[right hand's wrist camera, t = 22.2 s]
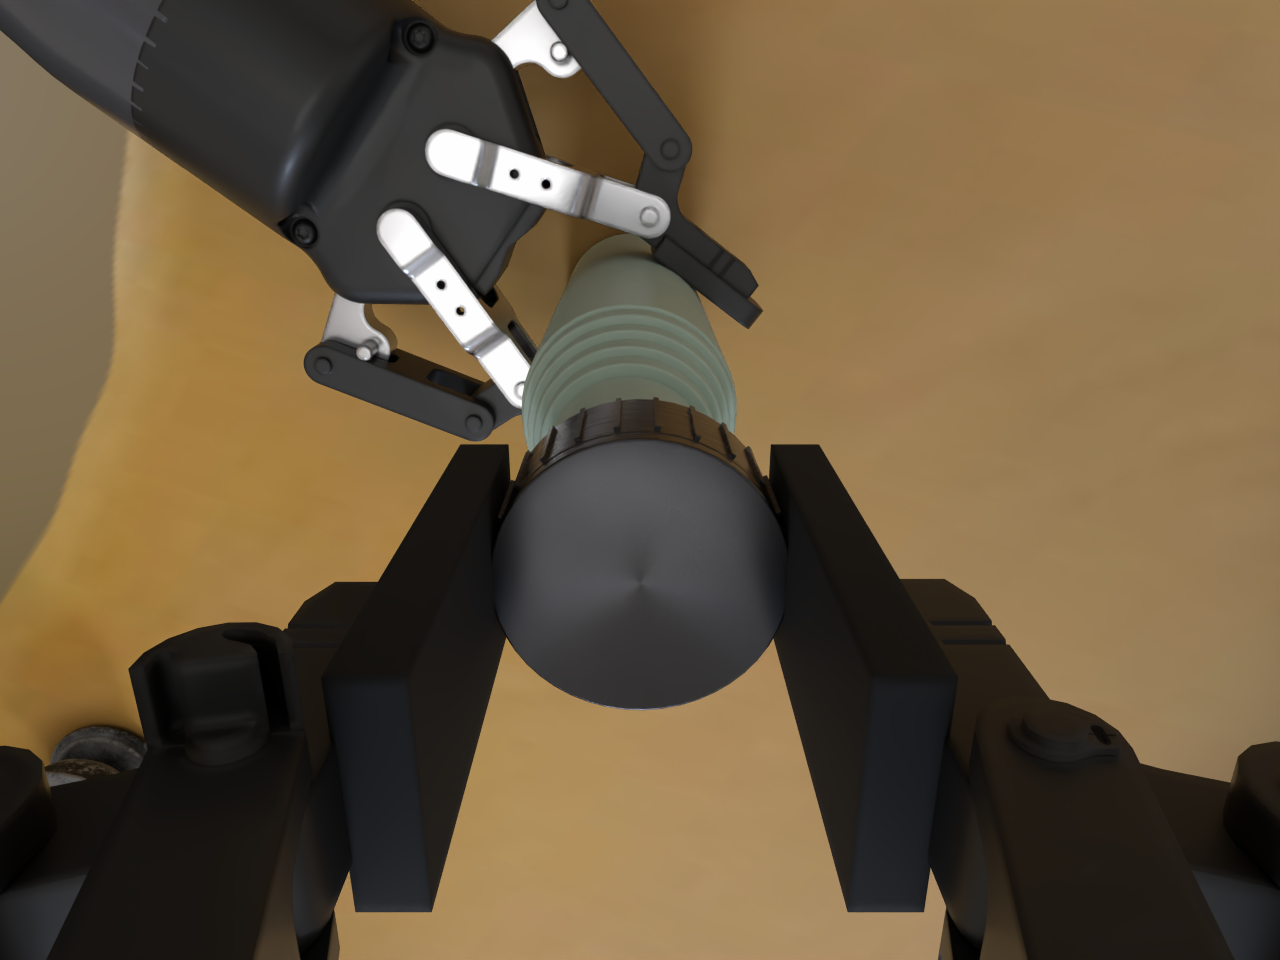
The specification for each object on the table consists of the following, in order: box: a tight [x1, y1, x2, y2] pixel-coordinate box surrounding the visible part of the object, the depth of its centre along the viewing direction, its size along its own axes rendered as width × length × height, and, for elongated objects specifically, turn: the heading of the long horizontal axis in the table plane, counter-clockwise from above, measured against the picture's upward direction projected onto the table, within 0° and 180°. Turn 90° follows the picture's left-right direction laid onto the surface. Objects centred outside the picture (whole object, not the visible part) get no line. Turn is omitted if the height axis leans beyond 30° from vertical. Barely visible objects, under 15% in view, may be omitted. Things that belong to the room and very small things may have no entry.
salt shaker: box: [44, 726, 147, 787], centre depth 36 cm, size 6×6×12 cm
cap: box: [491, 397, 788, 710], centre depth 13 cm, size 4×4×2 cm
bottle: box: [522, 233, 737, 452], centre depth 24 cm, size 5×5×20 cm
